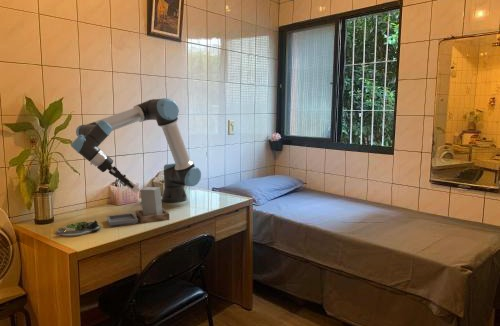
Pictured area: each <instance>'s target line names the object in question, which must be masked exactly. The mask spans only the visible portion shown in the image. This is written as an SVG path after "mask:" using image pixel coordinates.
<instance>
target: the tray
mask: <svg viewBox="0 0 500 326" xmlns="http://www.w3.org/2000/svg"><path fill="white" fill-rule="evenodd" d="M106 222H107V225H108V226H109V228H116V227H123V226H125V227H126V226H130V225H138V224H139V220H138V218H137V217H136V213H134V212H130V213H129V212H128V213H121V214H119V213H118V214H113V215H107V216H106Z"/></svg>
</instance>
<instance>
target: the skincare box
mask: <svg viewBox="0 0 500 326" xmlns="http://www.w3.org/2000/svg"><path fill="white" fill-rule="evenodd" d="M139 191H140V198H141V199H140V200H141V208H142V209H141V210H143V216H149V215H157V214H163V211H162V208H163V205H162V202H163V201H162V192H161V187H160V186H152V187H151V186H146V187H144V188H141V189H140V190H139Z"/></svg>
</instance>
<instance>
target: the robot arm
mask: <svg viewBox="0 0 500 326" xmlns="http://www.w3.org/2000/svg"><path fill="white" fill-rule="evenodd" d="M179 112H180V109H179V105H178V104H177V102H176V101H175V100H173V99H171V98H166V97H163V98H152V99H148V100H145V101H143V102H142V103H139V104H136V105H134V106H133V108H130V109H128V110H124V111H121V112H118V113H115V114H113V115H110V116H108V117H104V118H101V119H98V120H96V121H93V122H90V123H87V124H81V125H78V126H77V127H76V129H75V133H76V134H75V135H76V136H77V137H76V138H74V140H73V141H72V142H71V143H70V146H71V148H72V149H73V150H74V151H76V153H78V154H79V155H81V156H82V157H83V158H85V160H87V161H88V162H90V163H89V164H90V166H91V165H93V166H94V167H96V168H97V169H98V170H99V171H100V172H102V173H104V172H106V171H107V170H108V173H109V174H110V175H111V176H113V177H114V178H116V179H118V180H119V181H120V182H121V183H123V186H124V187H127V188H129V190H131V191H132V192H133V193H134V194H136V195H137V194H138V193H139V191H140V190H141V189H140V188H139V187H137V186H136V184H135V183H134V182H133V181H131V180H130V179H129V178H127V175H126V174H123V173H121V171H120V170H119V169H118V168H117V167H116V166H115V165H114V166H113V163H114V160H113V159H112V158H111V157H110V156H109V155H107V154H106V153H105V152H104V151H103V150H102V149H100V148H99V146H100V145H101V144H102V143H103V142H105V141H104V140H106V139H107V137H108V136H110V134H111V133H112V132H113V131H115V130H118V129H120V128H124V127H127V126H128V125H132V124H135V123H137V122H139V123H143V122H146V121H156V124H157V126H158V127H159V128H162V131H163V134H164V137H165V139H166V142H167V145H168V148H169V149H170V153H171V155H172V158H173V161H174V163H169V164H167V163H166V164H165V165H163V181H164V182H163V183H164V184H163V185H164V188H163V192H162V194H161V201H162V202H164V203H179V202H180V203H181V202H185V201H186V200H188V198H187V197H188V196H187V193H186V191H185V186H186V187H195V186H197V185H198V184H199V183H200V181H201V179H202V171H201V169H200V168H199V167H197V166H195V163H194V161H193V160H192V159H191V158H190V157H189V156H190V155H189V154H188V151H187V149H186V145H185V143H184V139H183V137H182V135H181V132H180V129H179V126H178V123H177V122H178V120H179V118H178V116H179Z"/></svg>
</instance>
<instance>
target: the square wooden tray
mask: <svg viewBox="0 0 500 326" xmlns="http://www.w3.org/2000/svg"><path fill="white" fill-rule="evenodd" d="M162 211H163V214H157V215H149V216H143V210H142V209H140V210H135V216H136V217H137V218H138V222H140V224H144V223H152V222H153V223H154V222H160V221H167V220H168V221H169V220H170V213H169V212H168V211H167V210H166V209H165V208H164V207H162Z"/></svg>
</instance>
